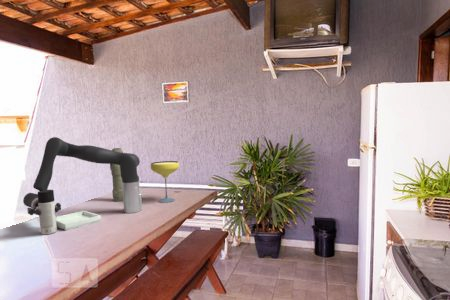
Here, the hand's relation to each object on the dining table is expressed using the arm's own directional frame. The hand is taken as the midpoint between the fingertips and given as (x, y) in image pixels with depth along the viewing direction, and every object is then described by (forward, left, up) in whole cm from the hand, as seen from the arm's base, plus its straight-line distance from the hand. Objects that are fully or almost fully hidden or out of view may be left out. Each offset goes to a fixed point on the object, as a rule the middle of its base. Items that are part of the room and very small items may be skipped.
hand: (48, 211), depth 145 cm
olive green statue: (-57, -33, -11) cm, 67 cm away
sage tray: (-15, -7, -11) cm, 20 cm away
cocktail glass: (-73, -4, -11) cm, 74 cm away
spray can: (0, -2, -11) cm, 11 cm away
